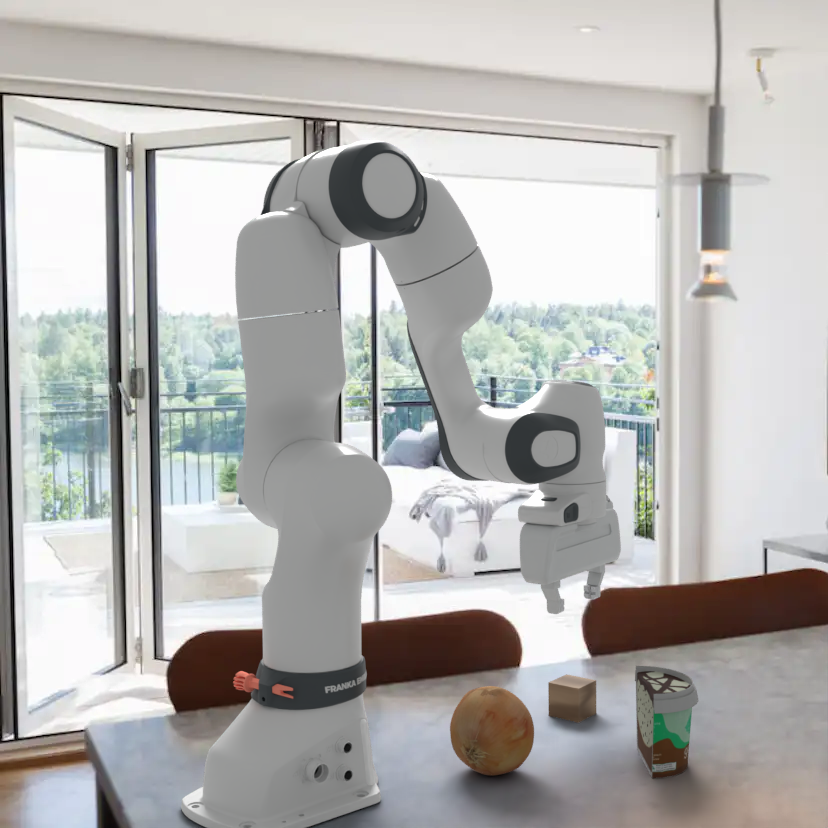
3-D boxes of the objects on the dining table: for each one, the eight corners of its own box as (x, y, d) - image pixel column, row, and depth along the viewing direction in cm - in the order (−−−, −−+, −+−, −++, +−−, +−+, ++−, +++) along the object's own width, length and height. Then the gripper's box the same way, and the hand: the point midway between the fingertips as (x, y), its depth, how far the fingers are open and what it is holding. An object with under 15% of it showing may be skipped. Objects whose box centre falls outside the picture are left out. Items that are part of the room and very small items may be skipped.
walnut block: (578, 723, 143) (578, 688, 143) (548, 716, 146) (548, 682, 146) (596, 714, 147) (596, 680, 147) (566, 707, 150) (566, 674, 149)
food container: (709, 783, 123) (710, 695, 122) (654, 783, 123) (654, 695, 122) (684, 744, 135) (685, 664, 134) (634, 744, 135) (634, 664, 135)
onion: (544, 762, 129) (544, 678, 129) (520, 794, 120) (520, 704, 120) (467, 752, 133) (466, 670, 133) (438, 782, 124) (437, 695, 123)
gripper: (591, 490, 155) (592, 587, 156) (510, 510, 139) (512, 618, 140) (631, 493, 151) (632, 592, 152) (552, 514, 135) (554, 625, 136)
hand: (574, 605), depth 146 cm, fingers open, 8 cm apart
